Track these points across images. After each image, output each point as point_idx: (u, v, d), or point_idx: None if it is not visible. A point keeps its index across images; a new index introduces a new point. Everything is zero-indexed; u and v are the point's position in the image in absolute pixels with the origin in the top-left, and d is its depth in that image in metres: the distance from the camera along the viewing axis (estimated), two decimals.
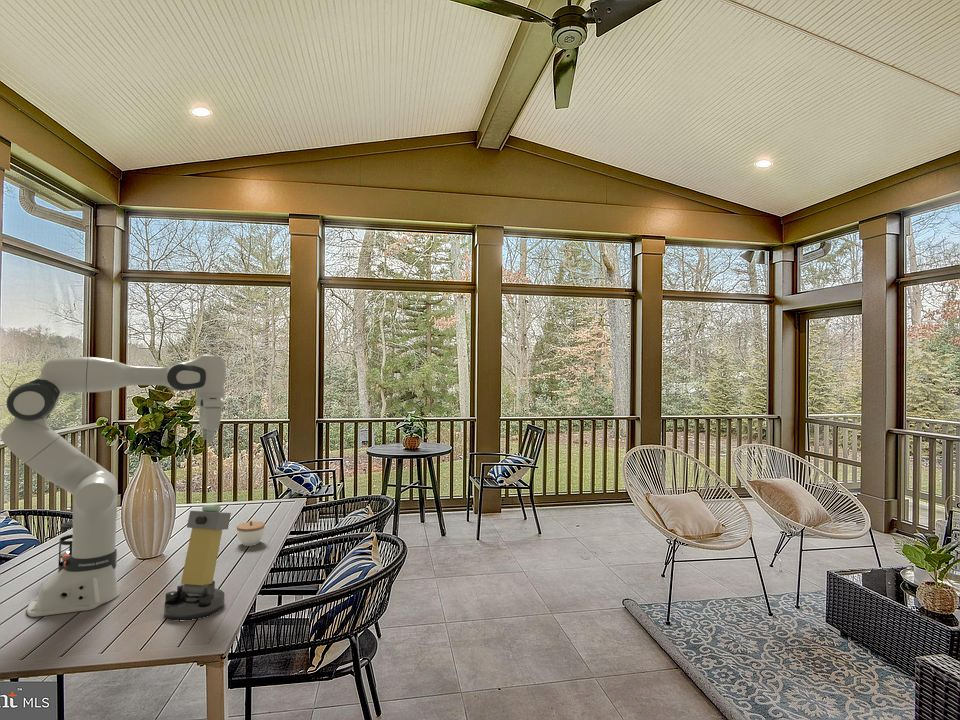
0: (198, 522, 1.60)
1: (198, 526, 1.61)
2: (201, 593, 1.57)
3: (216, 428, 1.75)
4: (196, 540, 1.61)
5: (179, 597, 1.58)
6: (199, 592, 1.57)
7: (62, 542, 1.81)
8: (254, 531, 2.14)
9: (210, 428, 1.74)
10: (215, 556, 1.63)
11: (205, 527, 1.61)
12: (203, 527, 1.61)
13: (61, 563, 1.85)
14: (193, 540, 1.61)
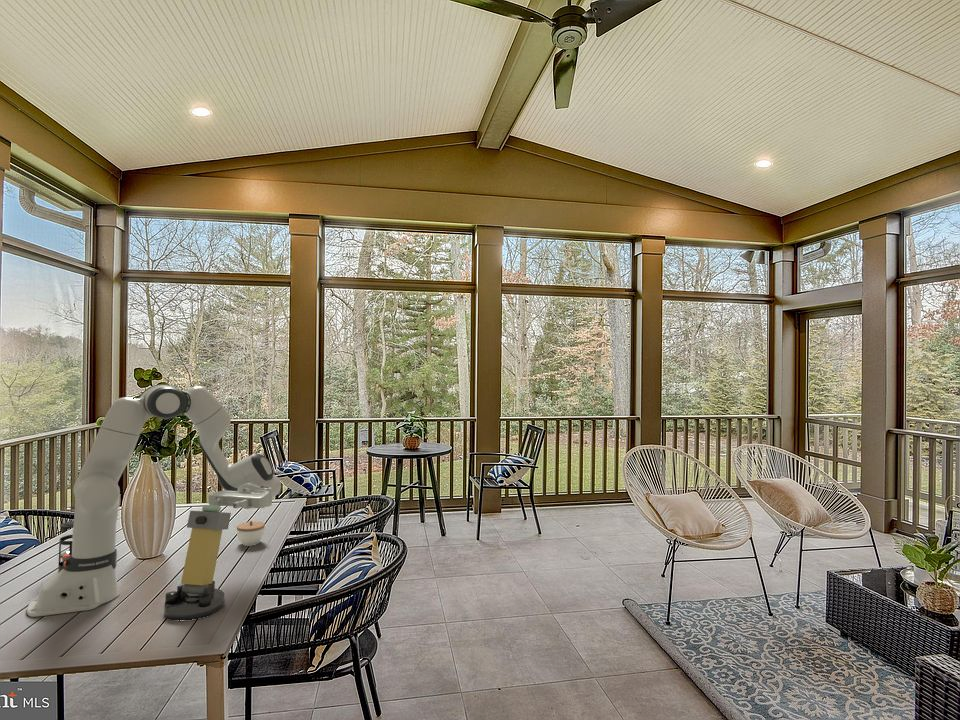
0: (198, 522, 1.60)
1: (198, 526, 1.61)
2: (201, 593, 1.57)
3: (261, 506, 1.76)
4: (196, 540, 1.61)
5: (179, 597, 1.58)
6: (199, 592, 1.57)
7: (62, 542, 1.81)
8: (254, 531, 2.14)
9: (261, 500, 1.76)
10: (215, 556, 1.63)
11: (205, 527, 1.61)
12: (203, 527, 1.61)
13: (61, 563, 1.85)
14: (193, 540, 1.61)
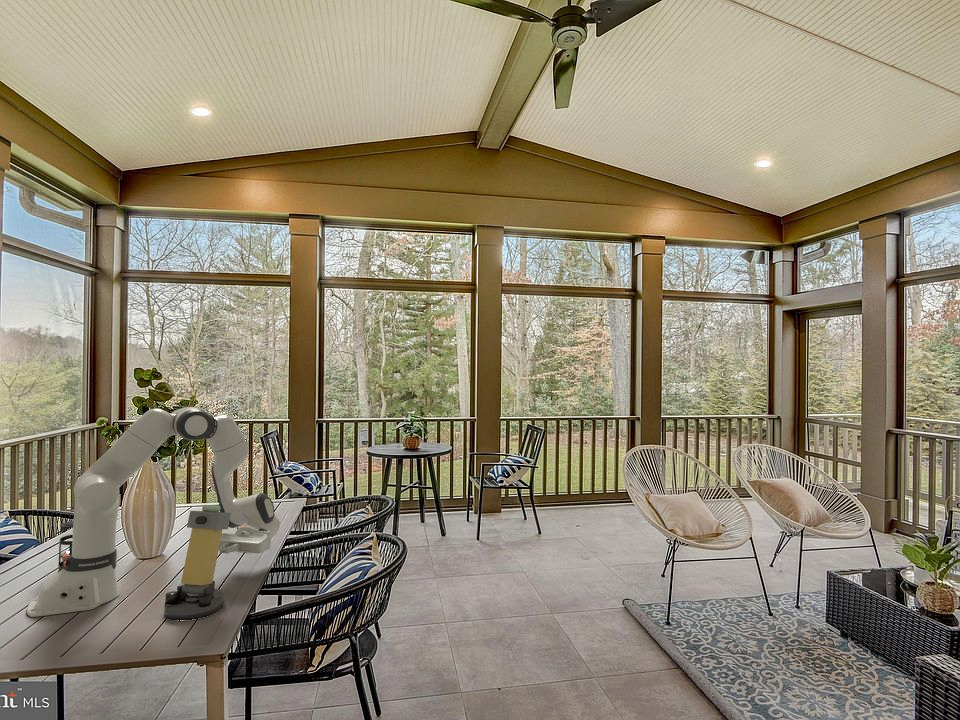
0: (198, 522, 1.60)
1: (198, 526, 1.61)
2: (201, 593, 1.57)
3: (259, 551, 1.76)
4: (196, 540, 1.61)
5: (179, 597, 1.58)
6: (199, 592, 1.57)
7: (62, 542, 1.81)
8: None
9: (260, 545, 1.76)
10: (215, 556, 1.63)
11: (205, 527, 1.61)
12: (203, 527, 1.61)
13: (61, 563, 1.85)
14: (193, 540, 1.61)
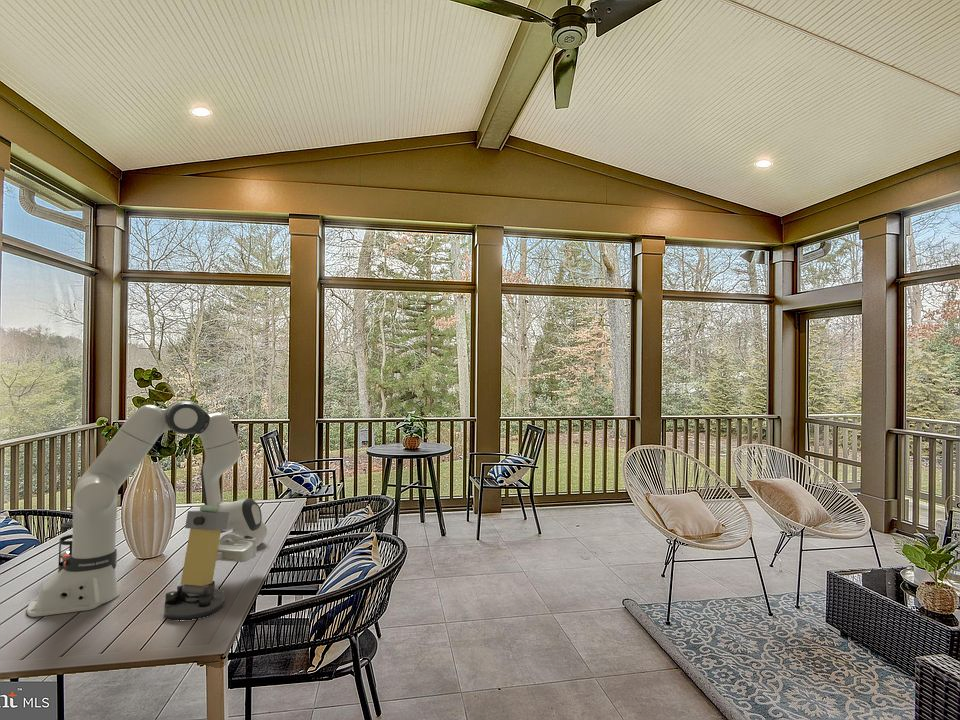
0: (196, 523, 1.59)
1: (196, 527, 1.61)
2: (201, 593, 1.57)
3: (244, 559, 1.67)
4: (195, 541, 1.60)
5: (179, 597, 1.58)
6: (199, 592, 1.57)
7: (62, 542, 1.81)
8: None
9: (244, 554, 1.67)
10: (214, 556, 1.62)
11: (203, 528, 1.60)
12: (201, 528, 1.60)
13: (61, 563, 1.85)
14: (192, 541, 1.60)
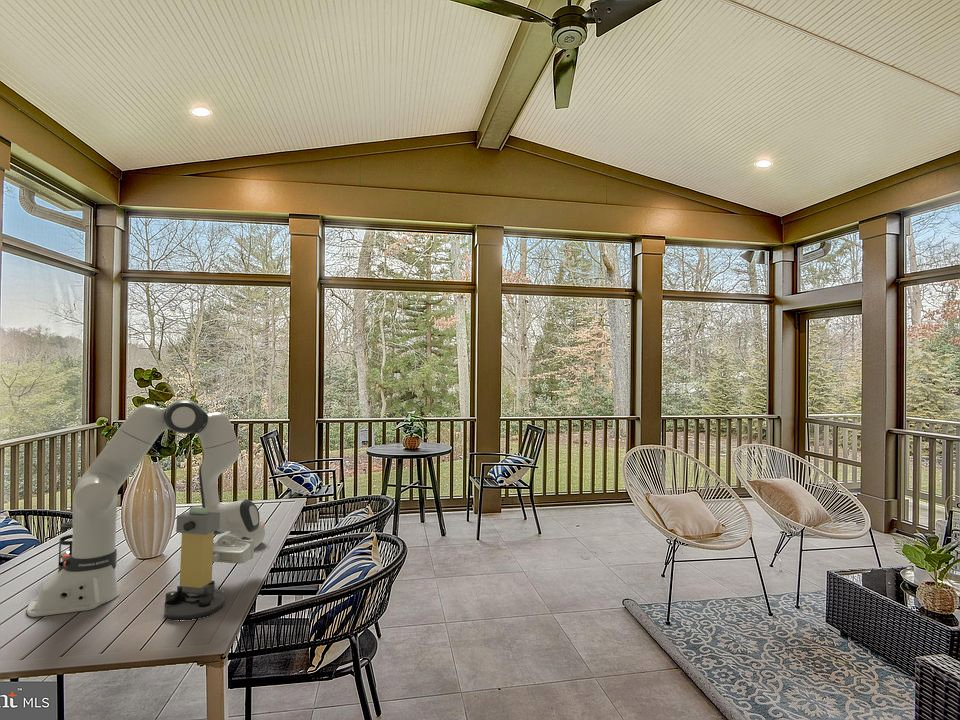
0: (186, 529, 1.55)
1: (187, 531, 1.57)
2: (201, 594, 1.58)
3: (241, 561, 1.66)
4: (188, 545, 1.57)
5: (179, 597, 1.58)
6: (199, 593, 1.58)
7: (62, 542, 1.81)
8: None
9: (241, 555, 1.66)
10: (210, 556, 1.60)
11: (195, 532, 1.57)
12: (193, 532, 1.57)
13: (61, 563, 1.85)
14: (185, 544, 1.57)
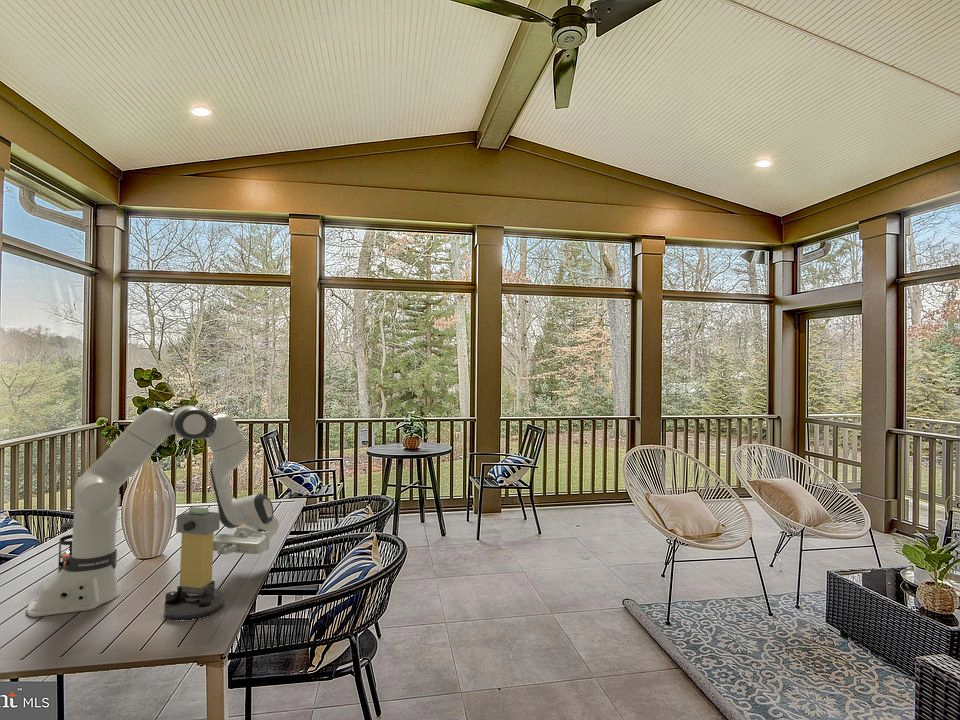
0: (186, 529, 1.55)
1: (187, 531, 1.57)
2: (201, 594, 1.58)
3: (258, 551, 1.75)
4: (188, 545, 1.57)
5: (179, 597, 1.58)
6: (199, 593, 1.58)
7: (62, 542, 1.81)
8: None
9: (258, 546, 1.75)
10: (210, 556, 1.60)
11: (195, 532, 1.57)
12: (193, 532, 1.57)
13: (61, 563, 1.85)
14: (185, 544, 1.57)
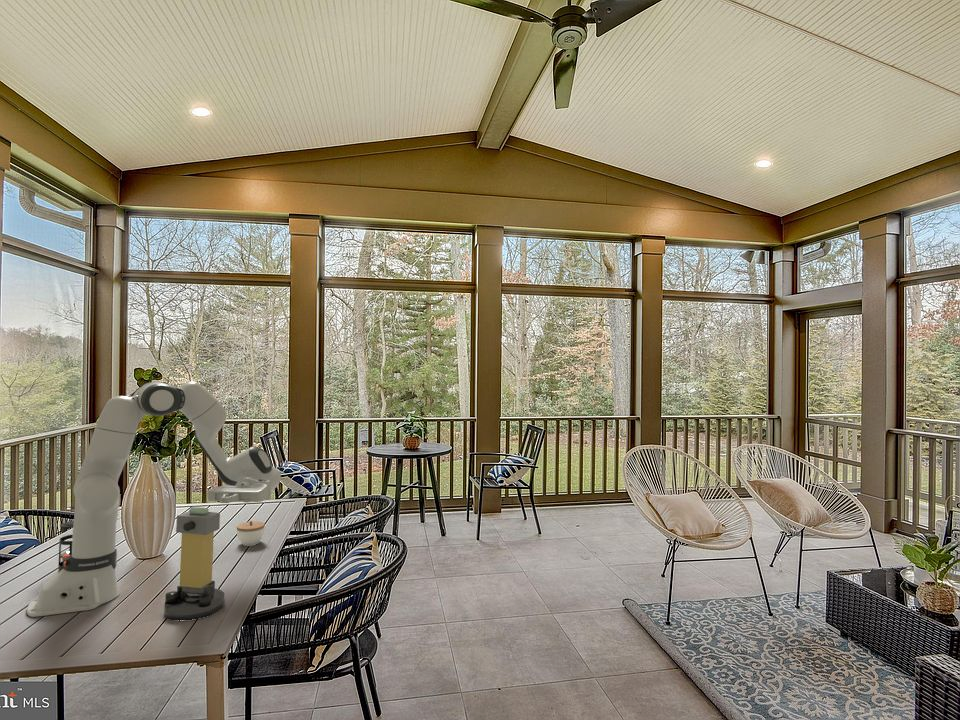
0: (186, 529, 1.55)
1: (187, 531, 1.57)
2: (201, 594, 1.58)
3: (259, 499, 1.76)
4: (188, 545, 1.57)
5: (179, 597, 1.58)
6: (199, 593, 1.58)
7: (62, 542, 1.81)
8: (254, 531, 2.14)
9: (259, 494, 1.76)
10: (210, 556, 1.60)
11: (195, 532, 1.57)
12: (193, 532, 1.57)
13: (61, 563, 1.85)
14: (185, 544, 1.57)
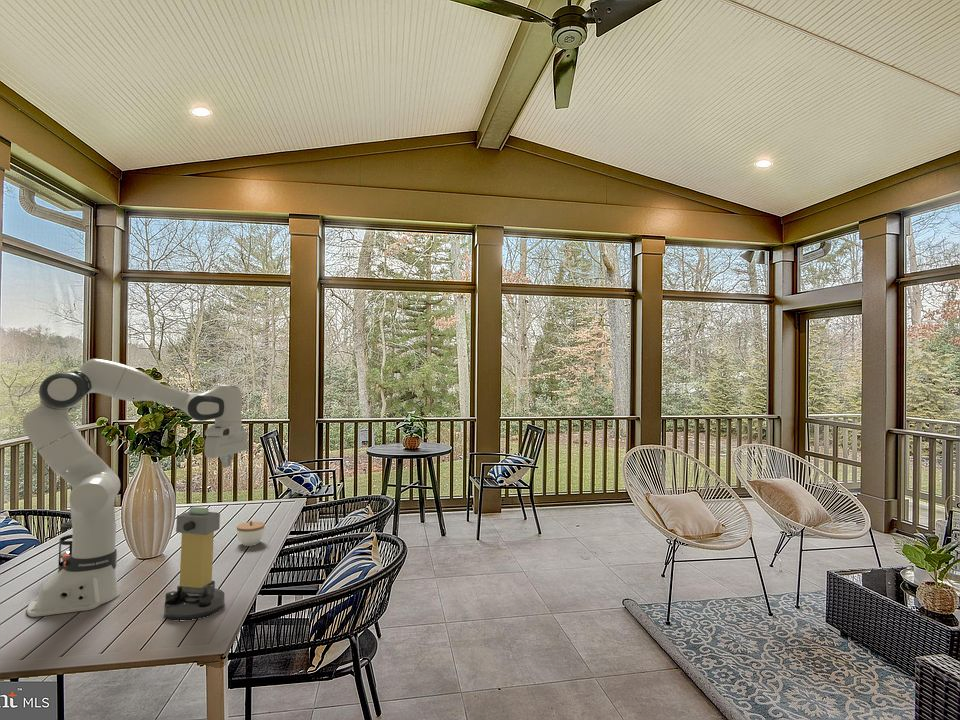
0: (186, 529, 1.55)
1: (187, 531, 1.57)
2: (201, 594, 1.58)
3: (212, 457, 1.81)
4: (188, 545, 1.57)
5: (179, 597, 1.58)
6: (199, 593, 1.58)
7: (62, 542, 1.81)
8: (254, 531, 2.14)
9: (207, 456, 1.81)
10: (210, 556, 1.60)
11: (195, 532, 1.57)
12: (193, 532, 1.57)
13: (61, 563, 1.85)
14: (185, 544, 1.57)
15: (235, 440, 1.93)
